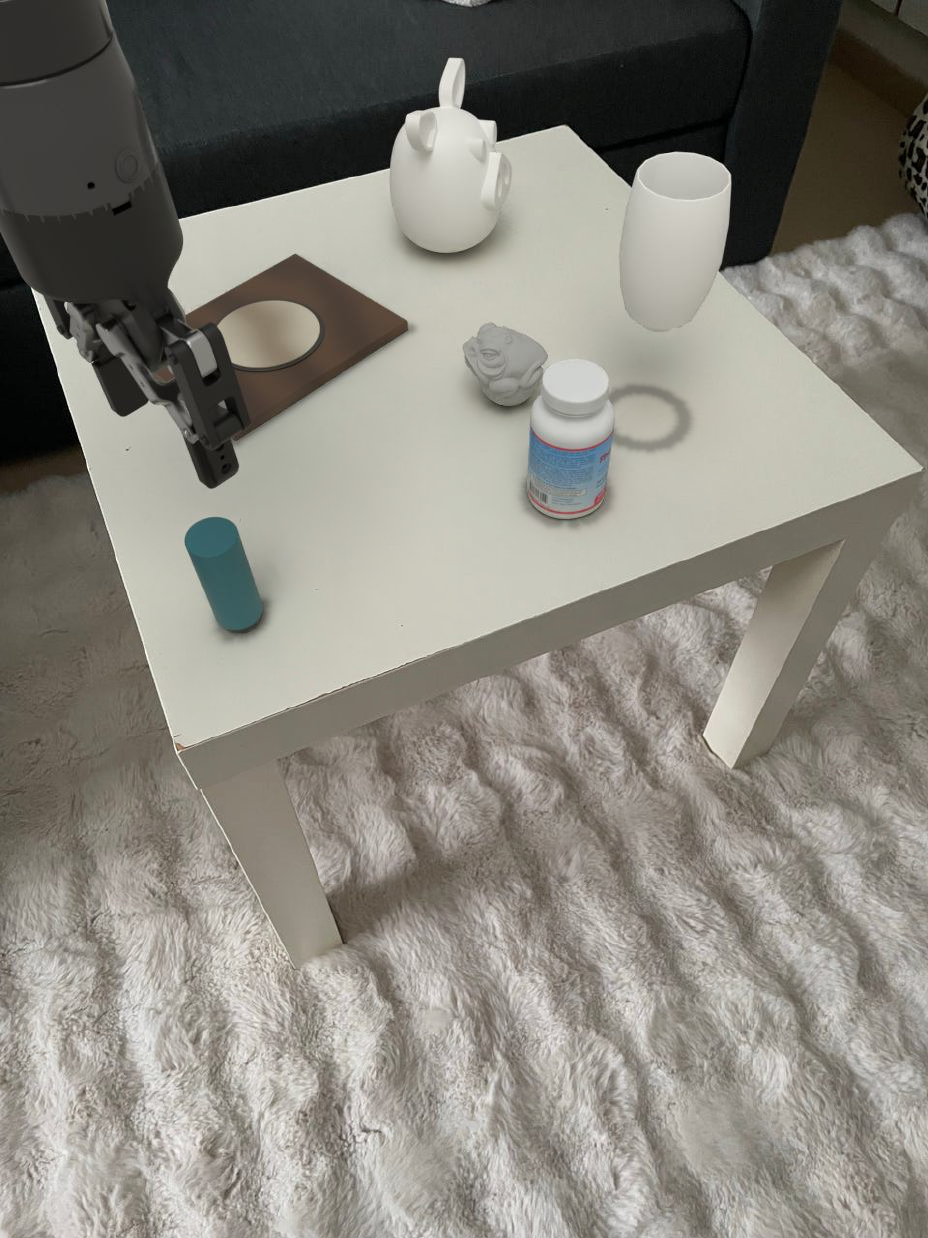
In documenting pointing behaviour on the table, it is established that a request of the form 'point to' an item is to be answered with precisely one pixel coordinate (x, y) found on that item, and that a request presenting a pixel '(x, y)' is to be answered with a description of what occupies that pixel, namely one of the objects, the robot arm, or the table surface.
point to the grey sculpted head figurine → (505, 363)
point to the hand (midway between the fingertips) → (175, 441)
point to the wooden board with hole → (292, 333)
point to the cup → (673, 238)
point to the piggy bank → (448, 172)
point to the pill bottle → (570, 440)
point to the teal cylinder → (224, 573)
